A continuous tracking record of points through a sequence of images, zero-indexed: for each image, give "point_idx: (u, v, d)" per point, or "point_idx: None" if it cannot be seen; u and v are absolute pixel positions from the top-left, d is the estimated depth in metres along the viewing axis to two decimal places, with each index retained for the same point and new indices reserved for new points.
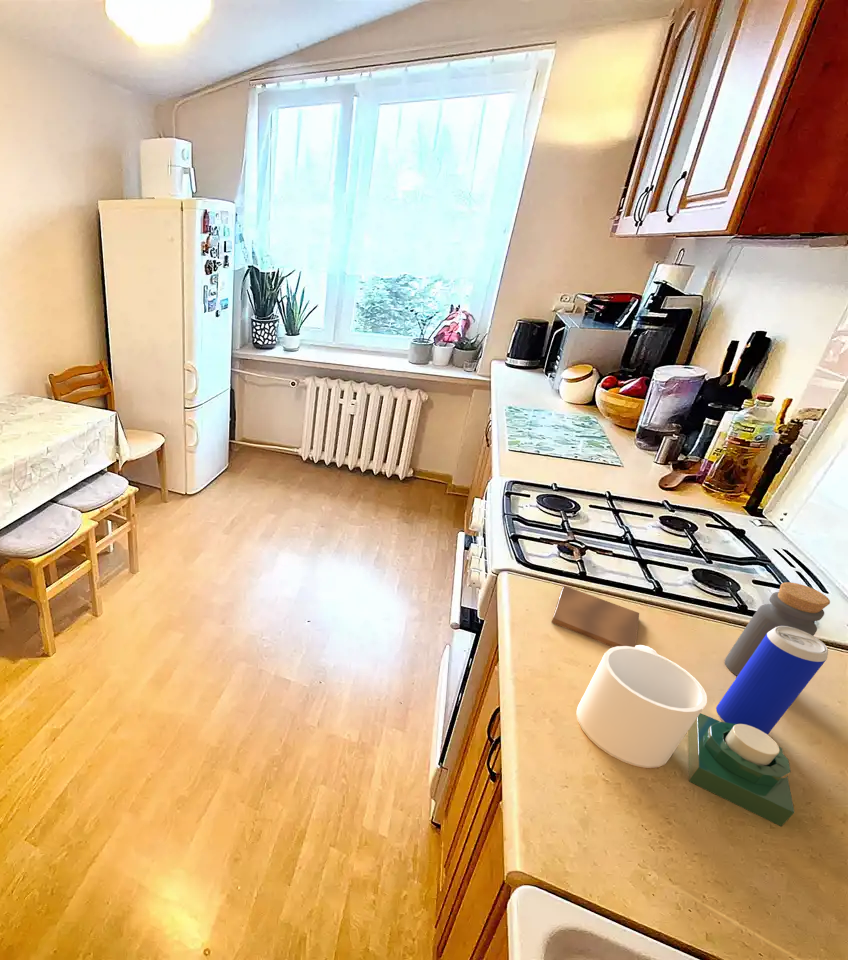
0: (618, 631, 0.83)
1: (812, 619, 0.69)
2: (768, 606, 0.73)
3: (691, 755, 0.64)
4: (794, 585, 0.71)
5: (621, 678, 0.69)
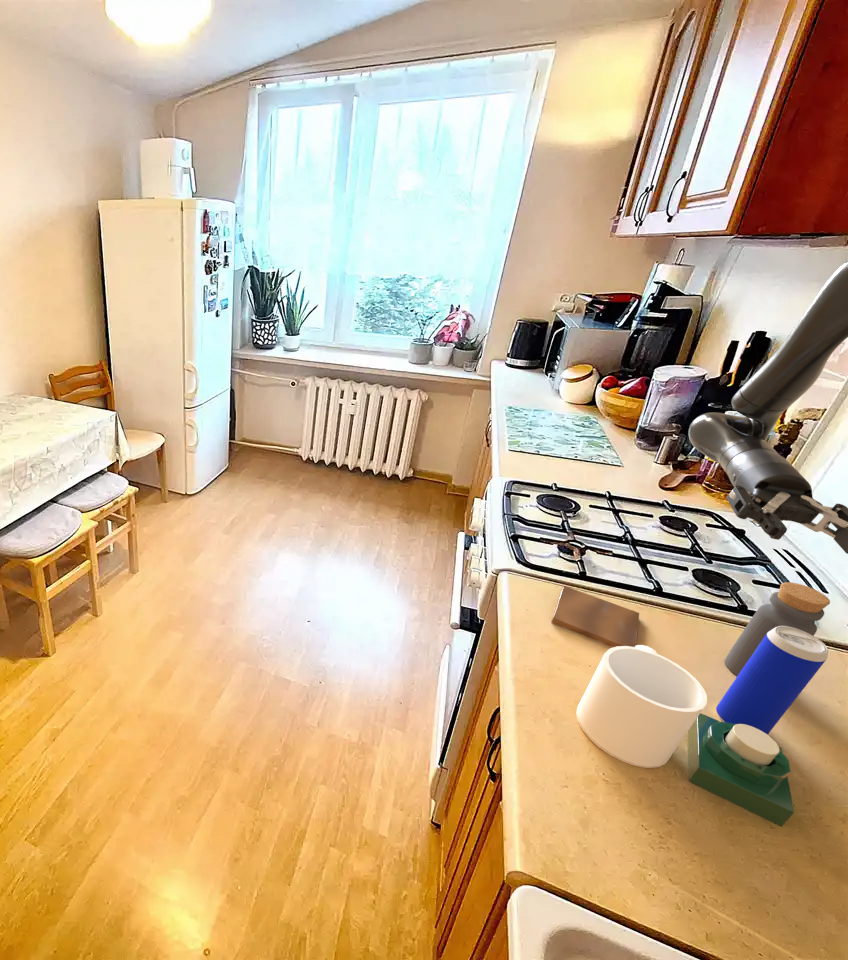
0: (618, 631, 0.83)
1: (812, 619, 0.69)
2: (768, 606, 0.73)
3: (691, 755, 0.64)
4: (794, 585, 0.71)
5: (621, 678, 0.69)
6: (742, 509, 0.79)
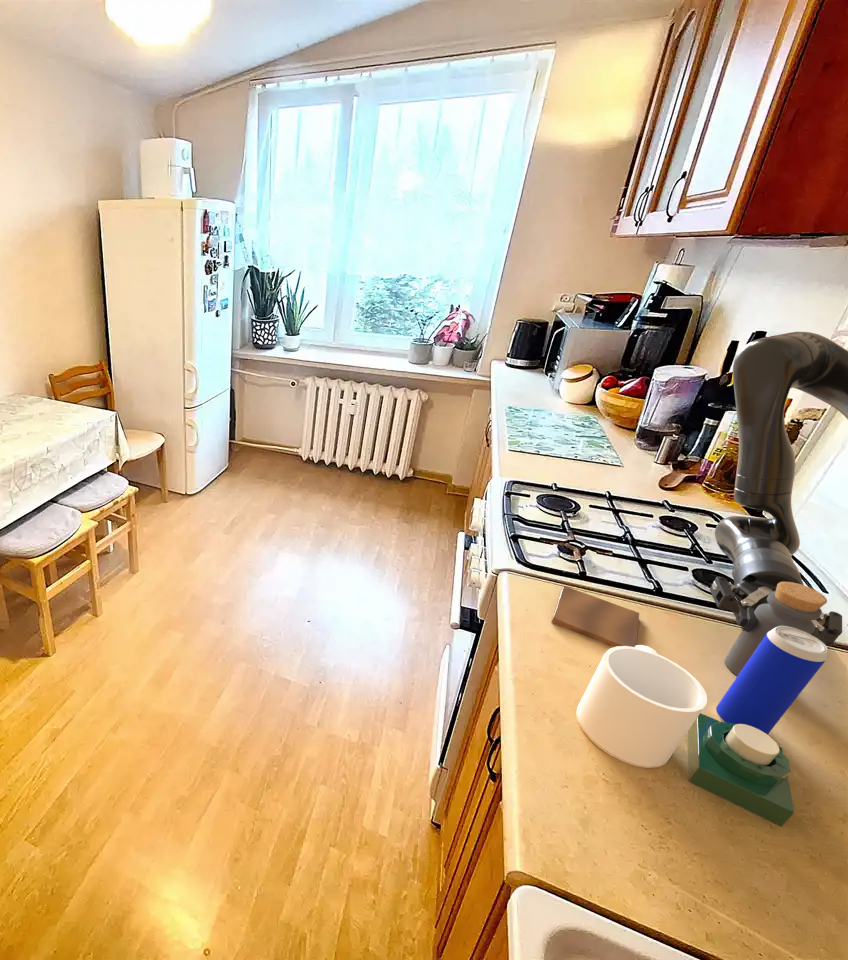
0: (618, 631, 0.83)
1: (809, 618, 0.69)
2: (766, 606, 0.73)
3: (691, 755, 0.64)
4: (791, 584, 0.71)
5: (621, 678, 0.69)
6: (722, 600, 0.78)
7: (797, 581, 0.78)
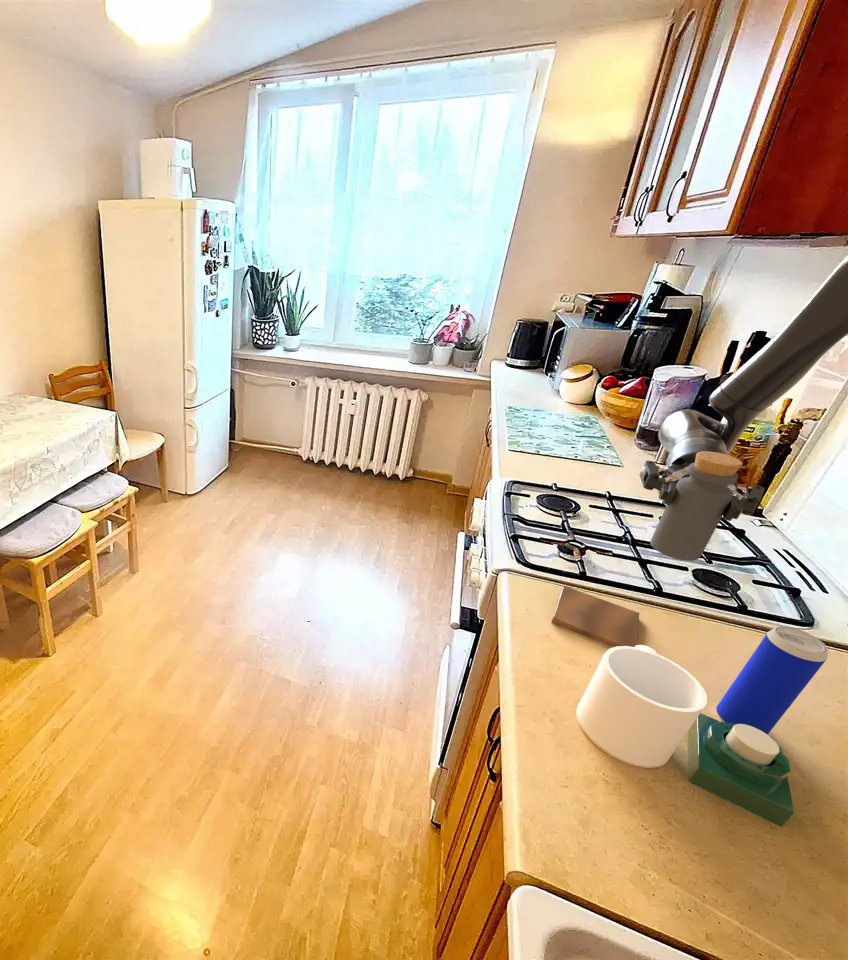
0: (618, 631, 0.83)
1: (725, 482, 0.69)
2: (687, 478, 0.73)
3: (691, 755, 0.64)
4: (710, 453, 0.71)
5: (621, 678, 0.69)
6: (647, 479, 0.78)
7: None
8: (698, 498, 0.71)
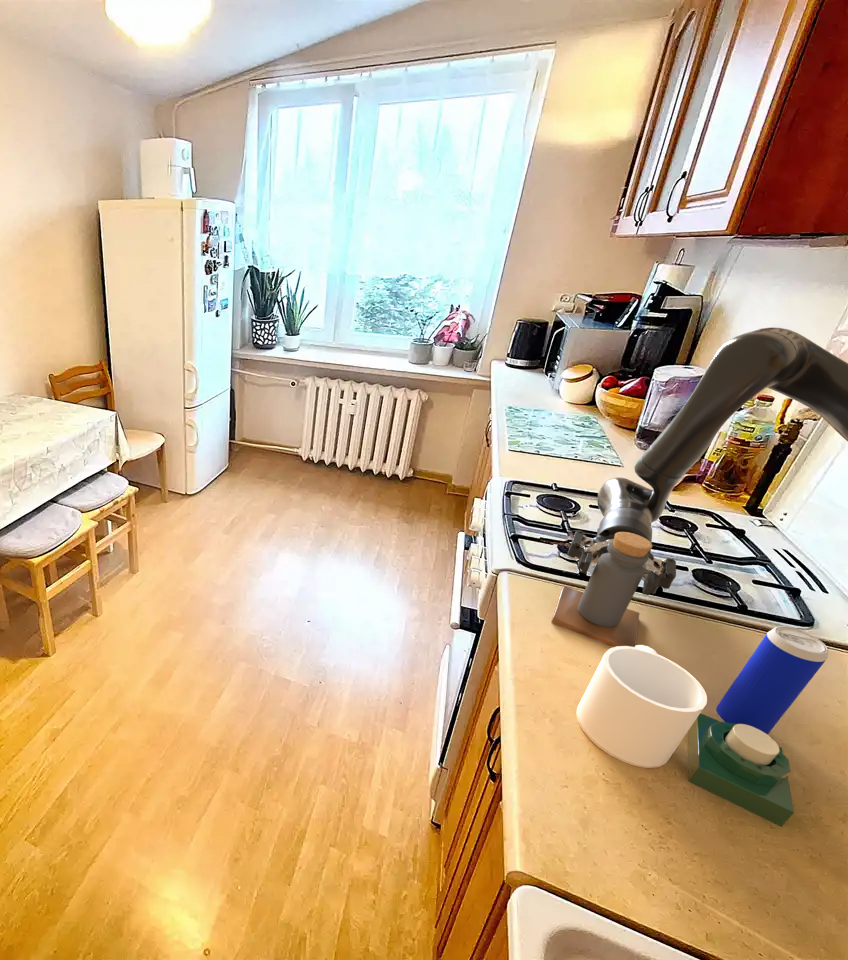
0: (618, 631, 0.83)
1: (637, 562, 0.78)
2: (607, 554, 0.82)
3: (691, 755, 0.64)
4: (627, 534, 0.80)
5: (621, 678, 0.69)
6: (570, 547, 0.88)
7: (642, 534, 0.86)
8: (615, 574, 0.80)
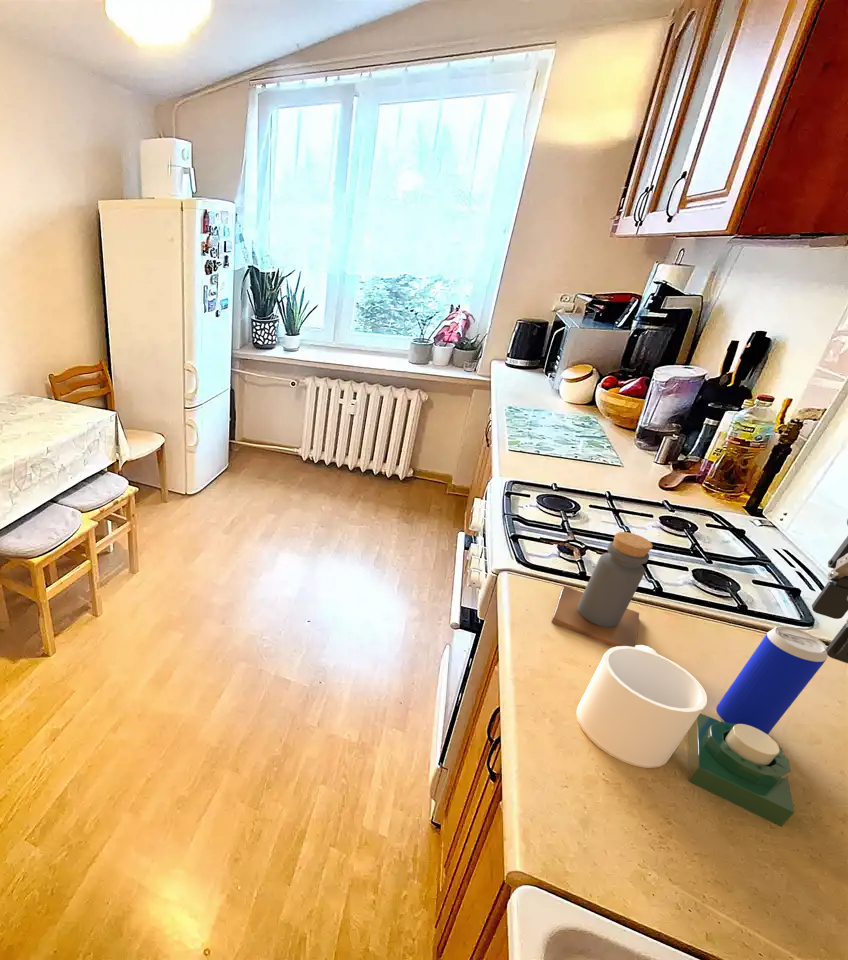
0: (618, 631, 0.83)
1: (637, 562, 0.78)
2: (607, 554, 0.82)
3: (691, 755, 0.64)
4: (627, 534, 0.80)
5: (621, 678, 0.69)
6: None
7: None
8: (615, 574, 0.80)
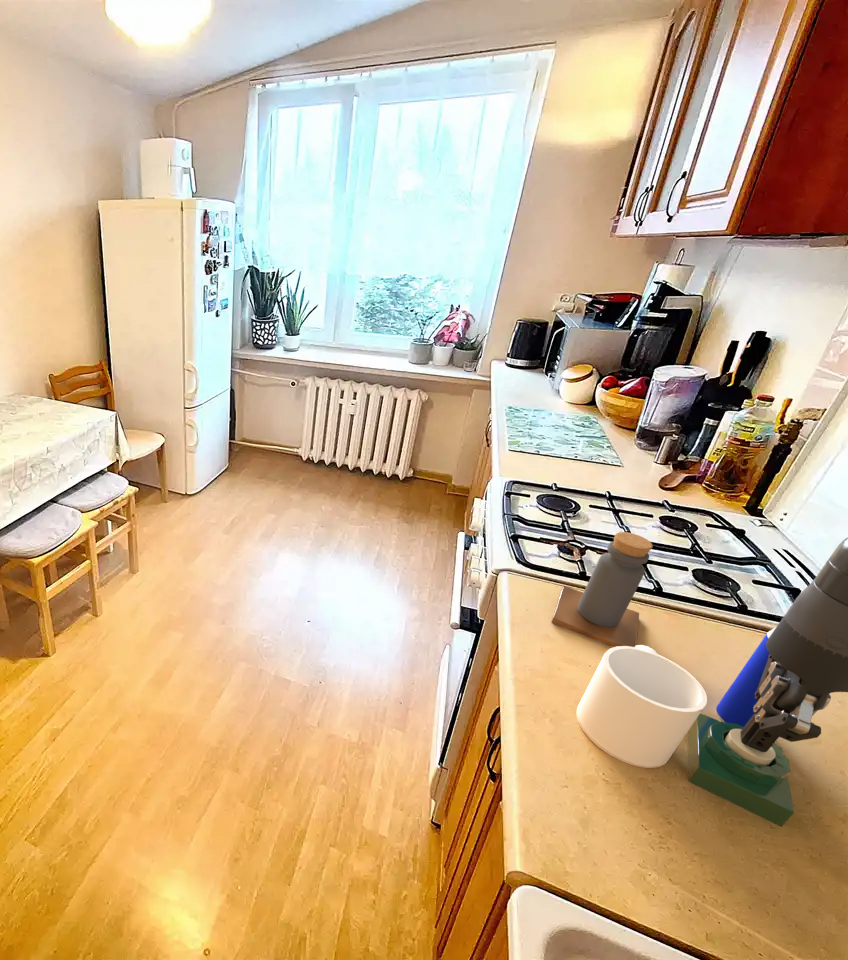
0: (618, 631, 0.83)
1: (637, 562, 0.78)
2: (607, 554, 0.82)
3: (691, 755, 0.64)
4: (627, 534, 0.80)
5: (621, 678, 0.69)
6: (777, 736, 0.56)
7: None
8: (615, 574, 0.80)
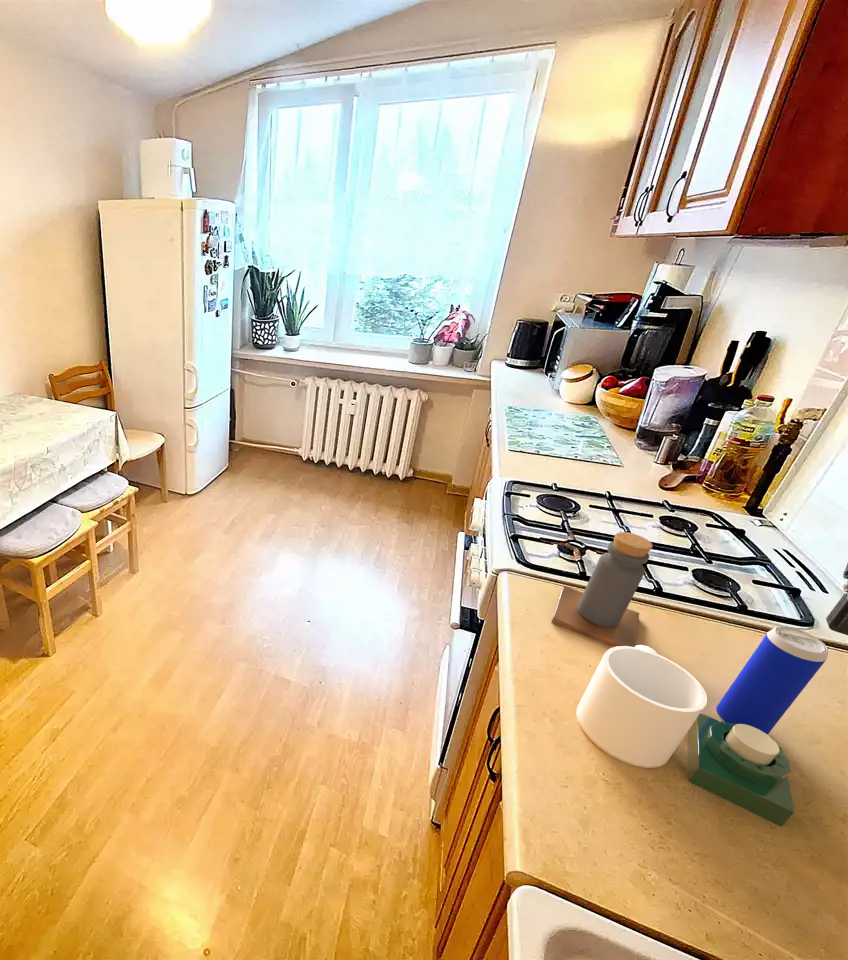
0: (618, 631, 0.83)
1: (637, 562, 0.78)
2: (607, 554, 0.82)
3: (691, 755, 0.64)
4: (627, 534, 0.80)
5: (621, 678, 0.69)
6: None
7: None
8: (615, 574, 0.80)
